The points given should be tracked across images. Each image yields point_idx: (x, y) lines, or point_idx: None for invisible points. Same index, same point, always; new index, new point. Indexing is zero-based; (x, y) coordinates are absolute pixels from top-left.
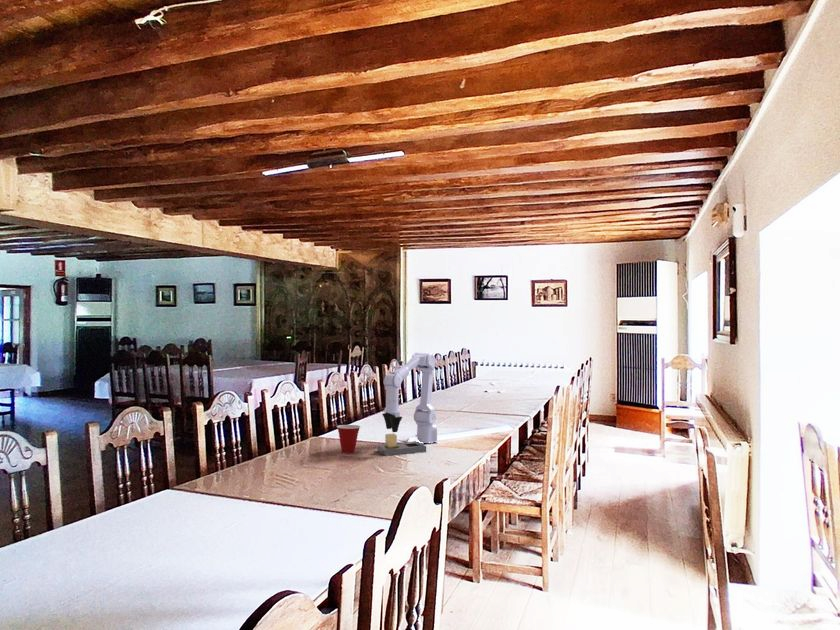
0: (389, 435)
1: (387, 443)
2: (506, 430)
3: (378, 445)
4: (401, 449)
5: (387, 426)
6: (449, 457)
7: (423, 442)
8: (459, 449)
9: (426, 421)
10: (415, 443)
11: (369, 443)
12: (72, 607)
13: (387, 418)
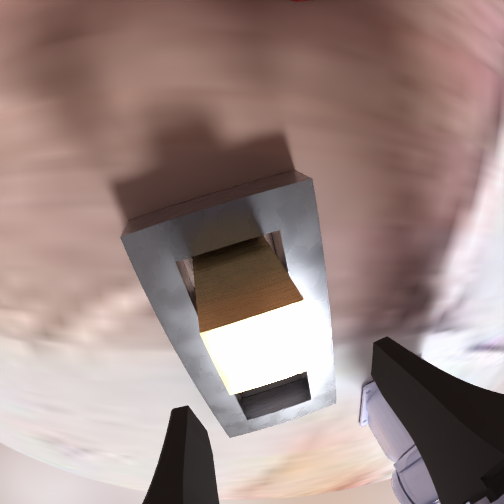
0: (229, 342)
1: (217, 276)
2: None
3: (304, 185)
4: (175, 346)
5: (389, 365)
6: (137, 458)
7: (371, 397)
8: (254, 472)
9: (405, 475)
10: (308, 400)
11: (466, 149)
12: None
13: (449, 439)
